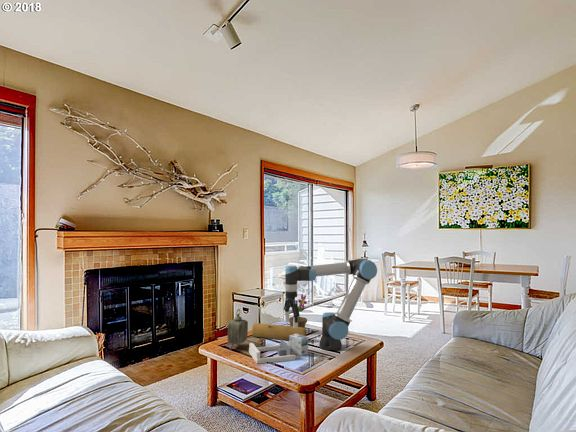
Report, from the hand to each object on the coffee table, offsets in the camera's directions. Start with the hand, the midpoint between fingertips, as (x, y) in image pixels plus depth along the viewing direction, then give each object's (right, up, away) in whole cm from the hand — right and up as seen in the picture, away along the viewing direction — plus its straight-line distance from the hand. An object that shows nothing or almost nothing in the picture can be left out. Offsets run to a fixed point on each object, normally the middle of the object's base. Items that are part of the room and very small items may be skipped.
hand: (291, 324), depth 221 cm
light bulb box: (+4, -20, +4) cm, 21 cm away
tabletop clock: (-35, -19, +11) cm, 41 cm away
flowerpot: (+5, -21, +49) cm, 54 cm away
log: (-9, -21, +34) cm, 40 cm away
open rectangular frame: (-12, -19, -2) cm, 22 cm away
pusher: (-6, -19, +1) cm, 19 cm away
